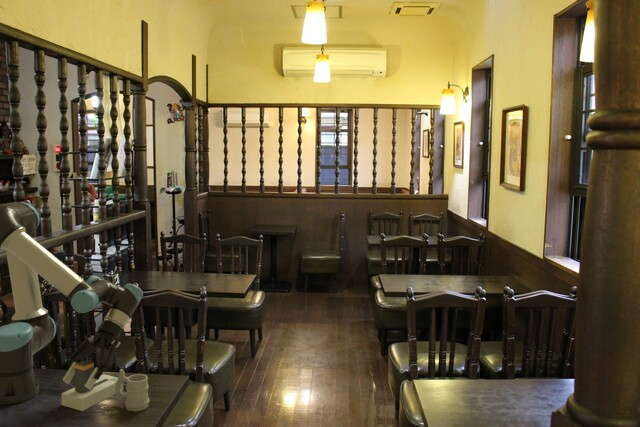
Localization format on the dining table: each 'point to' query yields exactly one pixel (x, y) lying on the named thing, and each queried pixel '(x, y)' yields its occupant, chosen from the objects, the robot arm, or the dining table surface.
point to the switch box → (91, 393)
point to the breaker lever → (83, 375)
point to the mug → (133, 391)
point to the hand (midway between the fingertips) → (76, 384)
